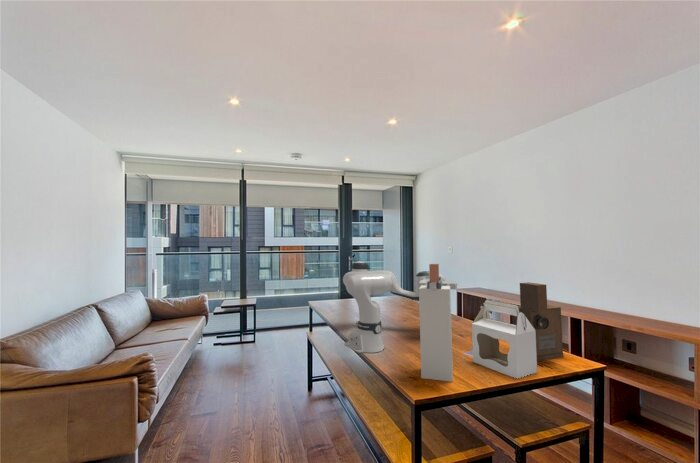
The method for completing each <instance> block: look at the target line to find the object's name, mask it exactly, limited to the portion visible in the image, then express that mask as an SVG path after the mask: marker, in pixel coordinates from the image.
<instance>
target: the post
mask: <svg viewBox="0 0 700 463" xmlns="http://www.w3.org/2000/svg"><path fill="white" fill-rule="evenodd" d="M430 283H431V281H430V280H429V281H428V282H427V286H424V285H421V287H420V288H419V301H418V303H419V308H418V309H419V335H420V336H419V338H420V340H419V343H420V347H419V348H420V378H421V379H427V380H434V381H443V382H444V381H445V382H451V383H453V376H454V375H453V373H454V371H453V370H454V368H453V367H454V365H453V345H452V344H453V342H452V341H453V340H452V339H453V337H452V335H453V333H452V307H451V306H452V305H451V302H452V300H451V299H452V298H451V289H450V286H442V280H439V281H438V287H437V290H436V291H430V289H429V284H430Z"/></svg>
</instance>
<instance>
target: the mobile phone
mask: <svg viewBox="0 0 700 463" xmlns="http://www.w3.org/2000/svg"><path fill="white" fill-rule="evenodd" d="M463 354H464V355H465V356H466V355H467V356H469V357H472V358H473V349H471V350H469V351H466V352H464V353H463Z"/></svg>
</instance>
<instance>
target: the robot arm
mask: <svg viewBox="0 0 700 463" xmlns="http://www.w3.org/2000/svg"><path fill="white" fill-rule="evenodd" d="M370 269H372V267H370V265H369V264H368V263H367V262H365V261H361V260H358V261H355V262H352V265H351V271H348V272H346V273H344V275H343V278H342V282H343V285H344V286H345V290H346V291H347V293H348V294H349V295H351V296H352V297H353V298H354V300H355V302H356V303H357V305H358V315H359V316H358V318H359V320H358V321H356V322H355V324H356V325H357V326H356V328H355V329H353V330H352V331H351V332H350V333H349V335H348V341H345V342H344V343H343V346H344V347H347V348H348V349H350V350H352V351H354V352H355V353H360V354H362V353H368V354H369V353H370V354H371V353H378V352H382V351H384V350H385V346H384V342H383V334H382V321H381V306H380V305H379V304H378V303H377V302H376V301H373V300H372V298H371V295H382V294H384V293H388V292H390V293H391V294H392V295H395V296H398V297H403V298H406V299H410V300H414V301H417V302H419V288H420V287H421V285H424V286H427V282H428V281H429V280H430V270H429V271H428V270H425V271H419V272H418V273H416V275H415V292H414V291H411V290H406V289H404V288H402V287H401V285H400V283H399V281H398V278H397V277H396V275H395V273H394V272H392V271H391V270H385V269H384V270H383V269H377V270H370ZM439 277H441V280H442V286H450V290H454V291H455V290H458V283H457V282H456V281H454V280H451V281H450V280H447V278H446V277H445V275H443V274H442V273H439ZM383 349H384V350H383Z"/></svg>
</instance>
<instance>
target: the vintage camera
mask: <svg viewBox="0 0 700 463" xmlns="http://www.w3.org/2000/svg"><path fill="white" fill-rule="evenodd" d="M547 292H548V291H547V284H543V283H537V282H529V281H528V282H520V283H519V298H520V303H519V304H520V305H518V306H519V310H520V312H522V313H523V314H525V316H526V318H527V319H528V321H529V322H530V323H531V325H532V326H533V328H534V329H535V333H536V356H537V363H538V362H542V361H549V360H554V359H555V360H556V359H562V358H564V357H565V356H564V349H563V344H564V343H563V328H562V326H563V325H562V307H561V306H557V305H552V304H548V293H547ZM512 324H514V325H516V324H517V316H514V315H512Z"/></svg>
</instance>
